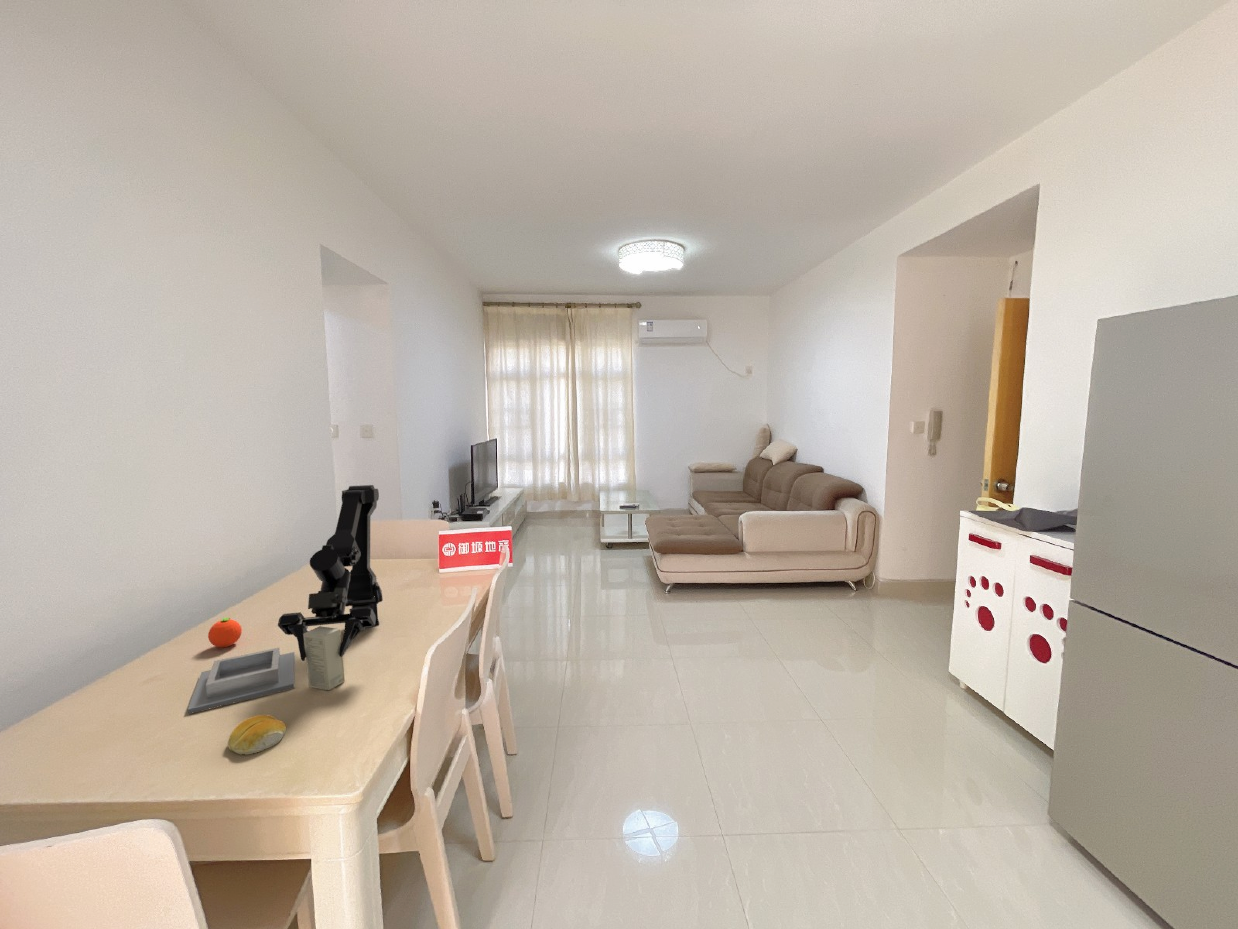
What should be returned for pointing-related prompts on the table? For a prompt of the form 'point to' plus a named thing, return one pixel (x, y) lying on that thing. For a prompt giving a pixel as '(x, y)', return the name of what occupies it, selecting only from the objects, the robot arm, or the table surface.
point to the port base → (285, 683)
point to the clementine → (225, 633)
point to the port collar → (244, 681)
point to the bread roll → (256, 734)
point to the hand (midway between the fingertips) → (321, 658)
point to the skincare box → (324, 657)
